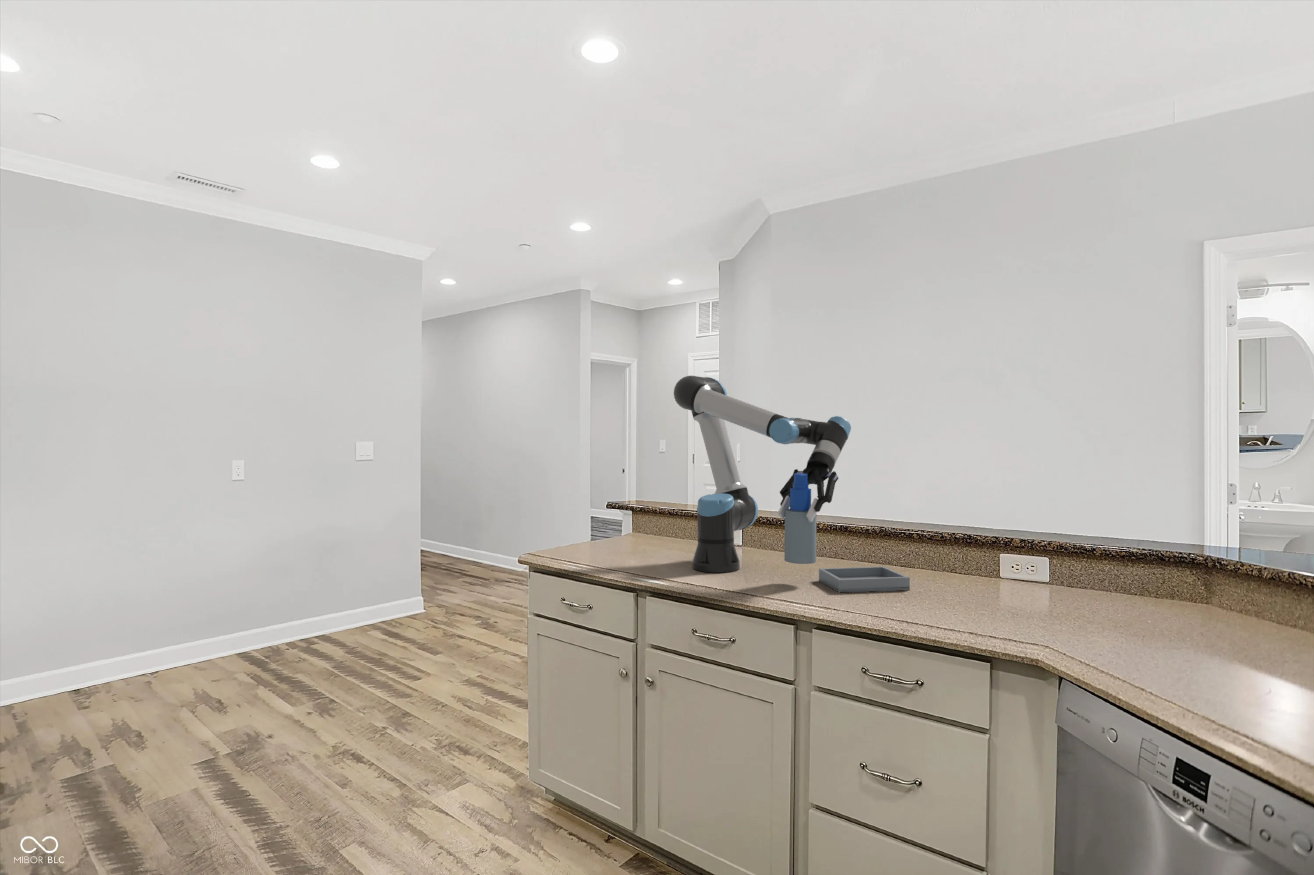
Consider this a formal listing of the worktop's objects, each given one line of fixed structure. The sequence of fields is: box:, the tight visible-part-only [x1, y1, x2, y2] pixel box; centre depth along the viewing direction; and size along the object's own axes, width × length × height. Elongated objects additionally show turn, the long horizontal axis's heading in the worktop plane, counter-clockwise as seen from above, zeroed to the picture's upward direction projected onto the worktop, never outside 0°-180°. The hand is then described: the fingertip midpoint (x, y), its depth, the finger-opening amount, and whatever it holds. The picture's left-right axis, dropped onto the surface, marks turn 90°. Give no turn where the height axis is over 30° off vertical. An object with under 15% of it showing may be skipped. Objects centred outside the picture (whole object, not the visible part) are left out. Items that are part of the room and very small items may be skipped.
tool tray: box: [818, 566, 911, 593], centre depth 183 cm, size 15×20×4 cm
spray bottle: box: [783, 473, 817, 565], centre depth 185 cm, size 9×9×25 cm
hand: (794, 517), depth 183 cm, fingers closed on spray bottle, 8 cm apart
